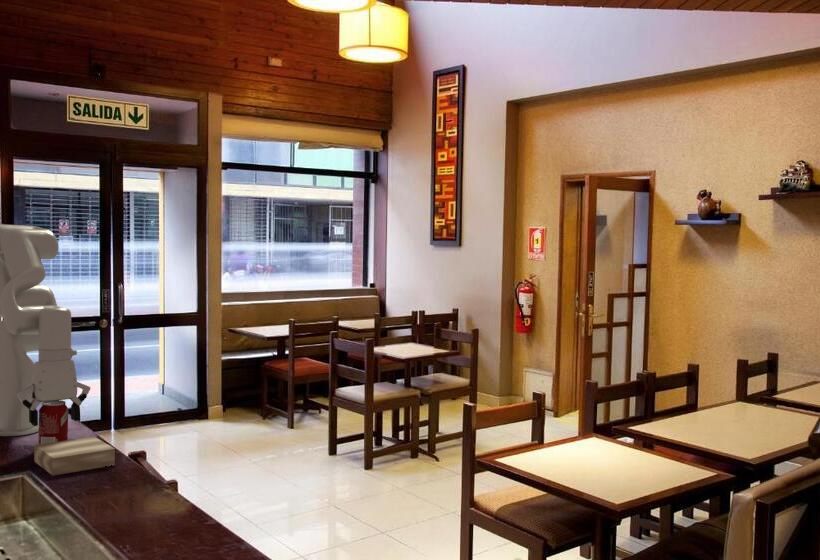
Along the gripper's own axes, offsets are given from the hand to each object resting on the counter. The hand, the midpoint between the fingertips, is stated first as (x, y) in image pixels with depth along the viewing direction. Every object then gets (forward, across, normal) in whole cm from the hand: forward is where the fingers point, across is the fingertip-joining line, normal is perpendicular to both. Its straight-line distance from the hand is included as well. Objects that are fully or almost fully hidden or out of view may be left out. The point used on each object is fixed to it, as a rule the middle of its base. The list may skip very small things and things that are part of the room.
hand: (54, 422), depth 188 cm
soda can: (+7, 0, -1) cm, 7 cm away
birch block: (+7, 0, +15) cm, 17 cm away
